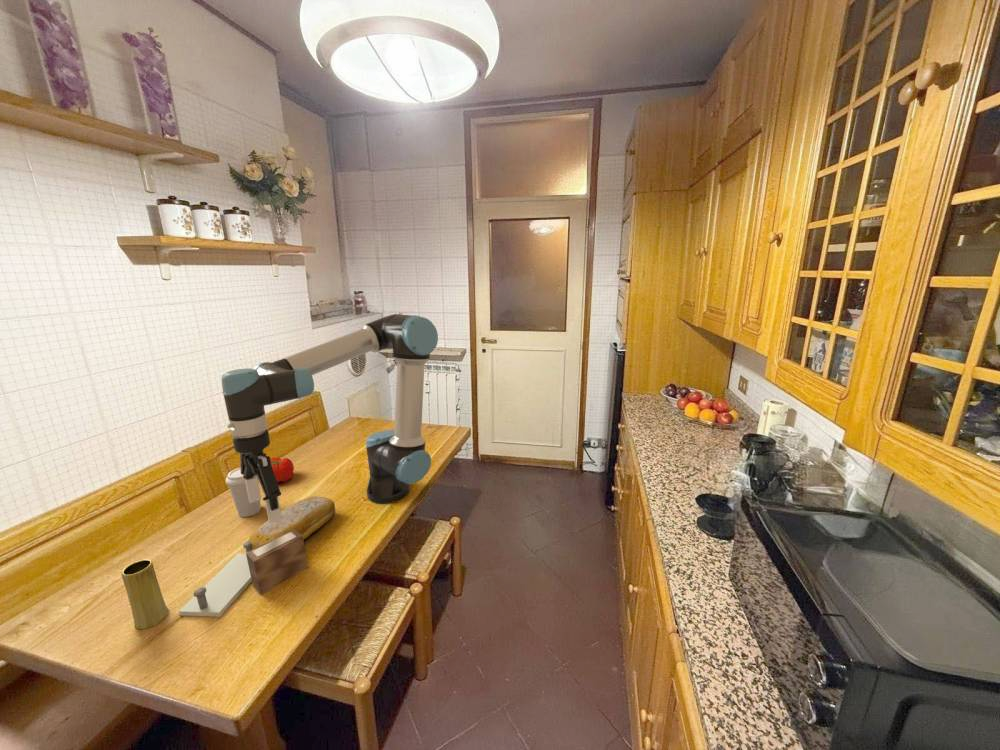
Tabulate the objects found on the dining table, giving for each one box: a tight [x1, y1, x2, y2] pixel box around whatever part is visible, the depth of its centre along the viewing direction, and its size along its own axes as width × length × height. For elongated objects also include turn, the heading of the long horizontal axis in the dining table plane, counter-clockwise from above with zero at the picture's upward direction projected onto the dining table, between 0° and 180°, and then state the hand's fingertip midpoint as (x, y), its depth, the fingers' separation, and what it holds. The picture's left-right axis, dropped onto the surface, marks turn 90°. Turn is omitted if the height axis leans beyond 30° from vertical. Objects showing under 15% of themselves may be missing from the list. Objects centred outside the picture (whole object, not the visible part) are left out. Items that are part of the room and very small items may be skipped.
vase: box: [121, 559, 170, 630], centre depth 92 cm, size 6×6×14 cm
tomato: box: [270, 456, 295, 483], centre depth 155 cm, size 13×12×8 cm
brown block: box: [245, 529, 309, 596], centre depth 105 cm, size 12×5×10 cm, turn 141°
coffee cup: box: [225, 466, 262, 518], centre depth 134 cm, size 10×10×15 cm
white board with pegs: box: [178, 540, 252, 618], centre depth 103 cm, size 10×20×6 cm, turn 176°
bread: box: [248, 495, 336, 550], centre depth 122 cm, size 13×26×8 cm, turn 165°
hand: (265, 509), depth 102 cm, fingers open, 13 cm apart
